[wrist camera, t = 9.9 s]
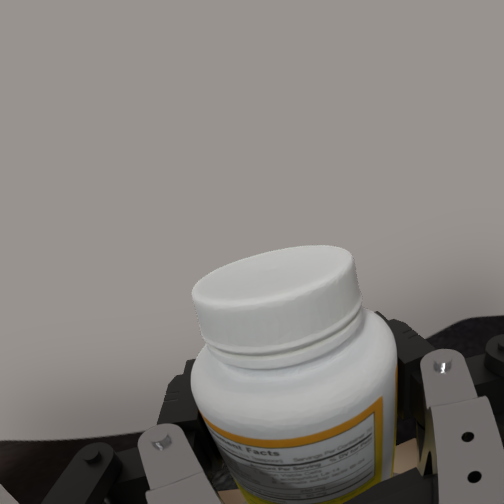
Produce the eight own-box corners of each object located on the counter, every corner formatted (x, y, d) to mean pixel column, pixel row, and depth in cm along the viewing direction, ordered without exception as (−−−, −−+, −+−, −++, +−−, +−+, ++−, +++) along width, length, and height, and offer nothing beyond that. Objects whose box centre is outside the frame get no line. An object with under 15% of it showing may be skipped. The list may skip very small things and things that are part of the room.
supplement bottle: (315, 438, 13) (271, 237, 11) (414, 475, 9) (422, 232, 7) (229, 509, 10) (126, 297, 8) (330, 576, 6) (270, 353, 4)
